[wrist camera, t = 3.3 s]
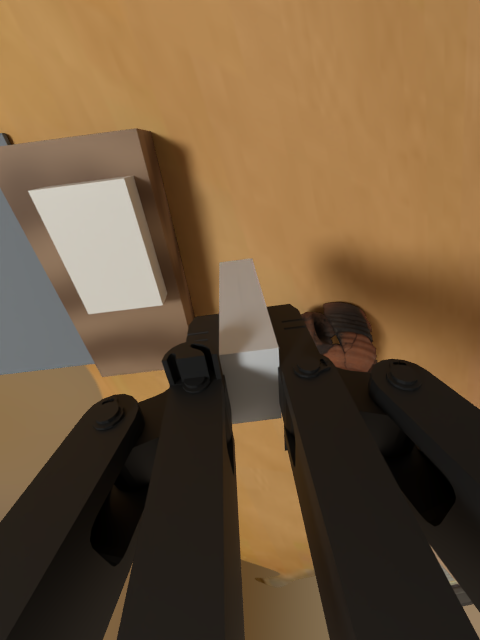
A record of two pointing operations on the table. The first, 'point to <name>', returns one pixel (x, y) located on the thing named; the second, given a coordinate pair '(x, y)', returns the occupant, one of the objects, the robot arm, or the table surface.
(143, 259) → the white rectangular block
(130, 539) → the robot arm
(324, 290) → the table surface
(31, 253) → the mat
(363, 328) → the pottery mug
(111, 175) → the block
